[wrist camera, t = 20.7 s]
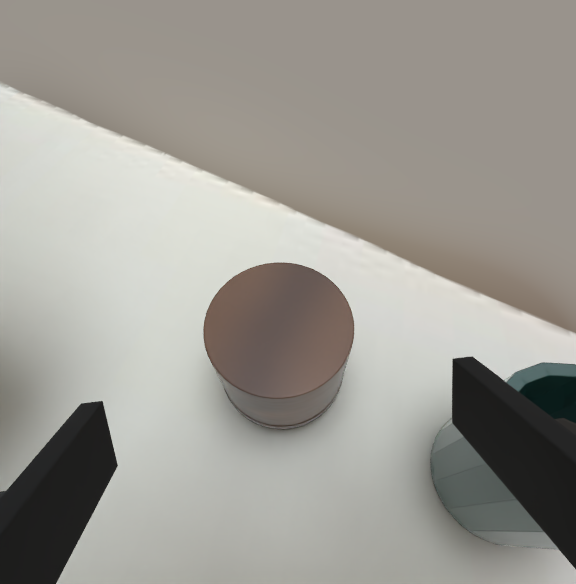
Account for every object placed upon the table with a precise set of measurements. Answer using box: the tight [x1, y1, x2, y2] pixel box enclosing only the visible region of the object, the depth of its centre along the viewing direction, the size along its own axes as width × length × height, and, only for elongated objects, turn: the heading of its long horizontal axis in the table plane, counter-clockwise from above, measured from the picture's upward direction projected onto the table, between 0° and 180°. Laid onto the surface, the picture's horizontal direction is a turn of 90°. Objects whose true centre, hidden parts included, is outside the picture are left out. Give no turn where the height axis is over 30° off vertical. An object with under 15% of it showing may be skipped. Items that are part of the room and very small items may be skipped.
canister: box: [431, 363, 576, 550], centre depth 22 cm, size 8×8×10 cm
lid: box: [204, 263, 354, 429], centre depth 27 cm, size 9×9×9 cm
